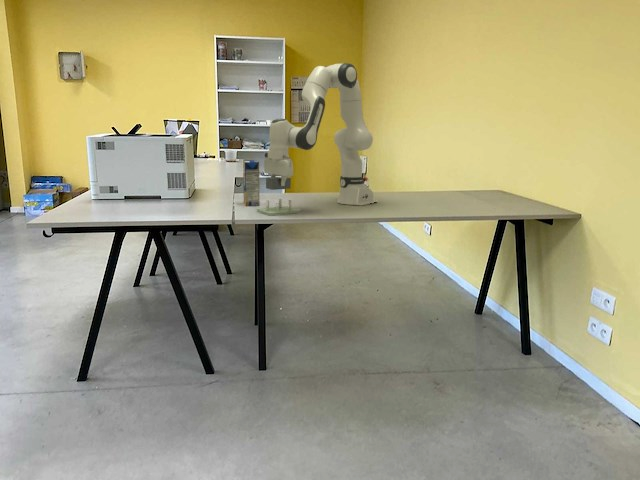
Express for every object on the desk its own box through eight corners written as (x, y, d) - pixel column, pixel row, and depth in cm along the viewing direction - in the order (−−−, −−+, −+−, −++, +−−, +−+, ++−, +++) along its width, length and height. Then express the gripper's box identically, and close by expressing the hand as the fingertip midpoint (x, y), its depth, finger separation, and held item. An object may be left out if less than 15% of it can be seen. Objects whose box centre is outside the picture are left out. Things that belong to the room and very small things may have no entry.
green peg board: (287, 208, 238) (287, 198, 237) (300, 212, 229) (300, 201, 228) (256, 211, 228) (256, 200, 227) (269, 216, 219) (269, 204, 218)
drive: (284, 187, 231) (284, 176, 230) (290, 188, 226) (290, 177, 225) (266, 188, 225) (266, 177, 224) (272, 189, 221) (272, 178, 219)
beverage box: (245, 206, 241) (245, 162, 236) (243, 202, 252) (243, 160, 246) (259, 206, 243) (259, 162, 238) (256, 202, 253) (256, 160, 248)
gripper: (297, 156, 216) (296, 187, 219) (273, 153, 232) (273, 182, 235) (285, 156, 212) (284, 188, 215) (261, 153, 228) (261, 182, 231)
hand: (278, 184), depth 225 cm, fingers closed on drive, 6 cm apart
